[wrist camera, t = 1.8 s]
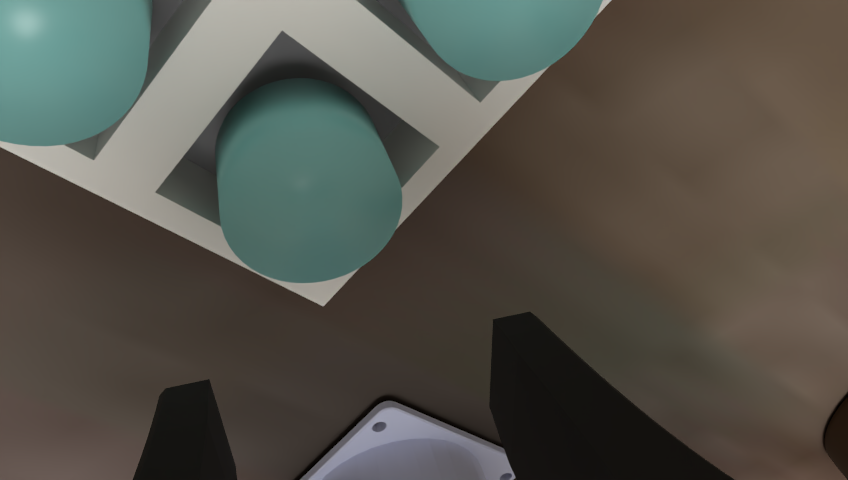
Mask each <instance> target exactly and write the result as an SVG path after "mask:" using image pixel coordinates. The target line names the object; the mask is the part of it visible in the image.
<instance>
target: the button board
mask: <svg viewBox="0 0 848 480" xmlns="http://www.w3.org/2000/svg"><path fill="white" fill-rule="evenodd" d="M610 1H611V0H603V1H602V4H601V6H600V8H599V11H598V13H597V15H598V14H599V13H600V12H601V11H602V10H603V9H604V8H605V7H606V6H607V4H608V3H609V2H610ZM152 7H153V9H152V20H151V32H150V43H149V54H148V65H147V72H146V76H145V80H144V84H143V86H142V88H141V91H140V93H139V95H138V97H137V98H136V100H135V102H134V103H133V105H132V106H131V107H130V109H129V110H128V111H127V112H126V113H125V114H124V116H122V117H121V118H120V119H119V120H118V121H117V122H116V123H114V124H113V125H112V126H110V127H109V128H107V129H105V130H104V131H102V132H100V133H98V134H96V135H94V136H92V137H90V138H87V139H84V140H81V141H78V142H74V143H69V144H64V145H56V146H27V145H18V144H12V143H8V142H3V141H0V147H2V148H4V149H6V150H8V151H10V152H12V153H14V154H16V155H18V156H20V157H22V158H24V159H26V160H28V161H30V162H32V163H34V164H36V165H38V166H40V167H42V168H44V169H46V170H48V171H50V172H52V173H54V174H56V175H58V176H60V177H62V178H64V179H66V180H68V181H70V182H72V183H74V184H76V185H78V186H80V187H82V188H85V189H87V190H89V191H91V192H93V193H95V194H97V195H99V196H101V197H103V198H105V199H107V200H109V201H111V202H113V203H115V204H117V205H119V206H121V207H123V208H125V209H127V210H129V211H131V212H133V213H135V214H137V215H139V216H141V217H143V218H145V219H147V220H149V221H151V222H153V223H155V224H157V225H159V226H161V227H163V228H165V229H168V230H170V231H172V232H174V233H176V234H178V235H180V236H182V237H184V238H186V239H188V240H190V241H192V242H194V243H196V244H198V245H200V246H202V247H204V248H206V249H208V250H210V251H212V252H214V253H216V254H218V255H220V256H222V257H224V258H226V259H228V260H230V261H232V262H234V263H236V264H238V265H240V266H242V267H244V268H246V269H248V270H250V271H253V272H255V273H257V274H259V275H261V276H263V277H265V278H267V279H269V280H271V281H273V282H275V283H277V284H279V285H281V286H283V287H285V288H287V289H289V290H291V291H293V292H295V293H297V294H299V295H301V296H303V297H305V298H307V299H309V300H311V301H313V302H315V303H317V304H319V305H321V306H324V305H325V304H326V303H327V302H328V301H329V300H330V299H331V298H332V297H333V296H334V295H335V294H336V293H337V291H338V290H339V289H340V288H341V287H342V286H343V285H344V284H345V283H346V282H347V281H348V280H349V279H350V278H351V277H352V276H353V274H354V273H355V272H356V271H357V270H358V269H359V268H358V269H357V270H355V271H353V272H351V273H349V274H346V275H344V276H341V277H338V278H335V279H332V280H327V281H323V282H316V283H291V282H285V281H279V280H276V279H273V278H269V277H267V276H265V275H262V274H260V273H258V272H256V271H255V270H253V269H251V268H250V267H248V266H247V265H246V264H244V263H243V262H242V261H241V260H240V259H239V258H238V257H237V256H236V255H235V254H234V252H233V251H232V250H231V248H230V247H229V245H228V243H227V241H226V239H225V237H224V234H223V231H222V228H221V222H220V214H219V201H218V188H217V175H216V162H215V145H216V139H217V135H218V132H219V129H220V127H221V125H222V123H223V121H224V119H225V117H226V116H227V114H228V113H229V111H230V110H231V109H232V108H233V107H234V106H235V105H236V103H237V102H239V101H240V100H241V99H242V98H243V97H245V96H246V95H247V94H249V93H250V92H252V91H254V90H255V89H257V88H259V87H261V86H263V85H266V84H269V83H272V82H275V81H279V80H284V79H291V78H310V79H316V80H321V81H325V82H328V83H331V84H333V85H336V86H338V87H340V88H342V89H344V90H345V91H347V92H348V93H350V94H351V95H352V96H354V97H355V98H356V99H357V100H358V101H359V102H360V103H361V104H362V105H363V106H364V108H365V109H366V111H367V112H368V114H369V115H370V117H371V119H372V121H373V123H374V126H375V128H376V130H377V132H378V134H379V137H380V139H381V141H382V143H383V145H384V148H385V150H386V152H387V154H388V156H389V159H390V161H391V163H392V165H393V167H394V169H395V172H396V174H397V176H398V178H399V182H400V185H401V190H402V210H401V216H400V219H399V222H398V225H397V227H396V229H397V228H398V227H399V226H400V224H401V223H402V222H403V221H404V220H405V219H406V218H407V217H408V216H409V215H410V214H411V213H412V212H413V211H414V210H415V209H416V207H417V206H418V205H419V204H420V203H421V202H422V201H423V200H424V199H425V198H426V197H427V196H428V195H429V194H430V193H431V192H432V190H433V189H434V188H435V187H436V186H437V185H438V184H439V183H440V182H441V181H442V180H443V179H444V178H445V177H446V176H447V175H448V173H449V172H450V171H451V170H452V169H453V168H454V167H455V166H456V165H457V164H458V163H459V162H460V161H461V160H462V159H463V158H464V156H465V155H466V154H467V153H468V152H469V151H470V150H471V149H472V148H473V147H474V146H475V145H476V144H477V143H478V142H479V141H480V139H481V138H482V137H483V136H484V135H485V134H486V133H487V132H488V131H489V130H490V129H491V128H492V127H493V126H494V125H495V124H496V122H497V121H498V120H499V119H500V118H501V117H502V116H503V115H504V114H505V113H506V112H507V111H508V110H509V109H510V108H511V106H512V105H513V104H514V103H515V102H516V101H517V100H518V99H519V98H520V97H521V96H522V95H523V94H524V93H525V92H526V91H527V89H528V88H529V87H530V86H531V85H532V84H533V83H534V82H535V81H536V80H537V79H538V78H539V77H540V76H541V75H542V74H543V72H544V71H545V70H546V69H547V68H548V67H549V66H548V67H547V68H545V69H543V70H541V71H539V72H537V73H535V74H532V75H529V76H526V77H523V78H519V79H514V80H507V81H487V80H482V79H477V78H473V77H471V76H468V75H465V74H463V73H461V72H459V71H457V70H455V69H454V68H453V67H451V66H450V65H448V64H447V63H446V62H445V61H444V60H443V59H442V58H441V57H440V56H439V55H438V54H437V53H436V52H435V50H434V49H433V48H432V47H431V45H430V44H429V42H428V41H427V40H426V38H425V37H424V36H423V34H422V33H421V31H420V30H419V29H418V27H417V26H416V24H415V23H414V22H413V20H412V19H411V18H410V16H409V15H408V13H407V12H406V11H405V9H404V8H403V6H402V5H401V4H400V2H399V1H398V0H152ZM597 15H596V16H597Z"/></svg>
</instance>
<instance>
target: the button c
mask: <svg viewBox="0 0 848 480" xmlns="http://www.w3.org/2000/svg"><path fill="white" fill-rule="evenodd" d="M398 1H399V2H400V4H401V5H402V6H403V8H404V9H405V11H406V12H407V13H408V15H409V16H410V18H411V19H412V20H413V22H414V23H415V24H416V26H417V27H418V29H419V30H420V31H421V33H422V34H423V36H424V37H425V38H426V40H427V41H428V42H429V44H430V45H431V47H432V48H433V49H434V50H435V52H436V53H437V54H438V55H439V56H440V57H441V58H442V59H443V60H444V61H445V62H446V63H447V64H448V65H450V66H451V67H453V68H454V69H455V70H457V71H459V72H461V73H463V74H465V75H468V76H471V77H473V78H477V79H482V80H487V81H507V80H514V79H519V78H523V77H526V76H529V75H532V74H535V73H537V72H539V71H541V70H543V69H545V68H547V67H548V66H550V65H552V64H553V63H555V62H556V61H558V60H559V59H560V58H561V57H563V56H564V55H565V54H566V53H568V52H569V51H570V50H571V49H572V48H573V47H574V46H575V45H576V44H577V42H578V41H579V40H580V39H581V38H582V37H583V35H584V34H585V33H586V31H587V30H588V28H589V27H590V25H591V24H592V22H593V20H594V18H595V17H596V15H597V13H598V11H599V8H600V6H601V4H602V1H603V0H398Z"/></svg>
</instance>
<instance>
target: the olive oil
mask: <svg viewBox="0 0 848 480" xmlns="http://www.w3.org/2000/svg"><path fill="white" fill-rule="evenodd" d="M825 449H826V452H827V453H828V455H829V457H830V458H831V460H832V461H833V462H834V463H835V465H836V466H837V467H838V469H839V470H840V471H841V472H842V473H843V475H844V476H845V477H846V478H847V480H848V397H847V398H846V399H845V400H844V401H843V403H842V404H841V405H840V406H839V408H838V409H837V411H836V412H835V414H834V415H833V417H832V419H831V421H830V423H829V425H828V428H827V431H826V435H825Z"/></svg>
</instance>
